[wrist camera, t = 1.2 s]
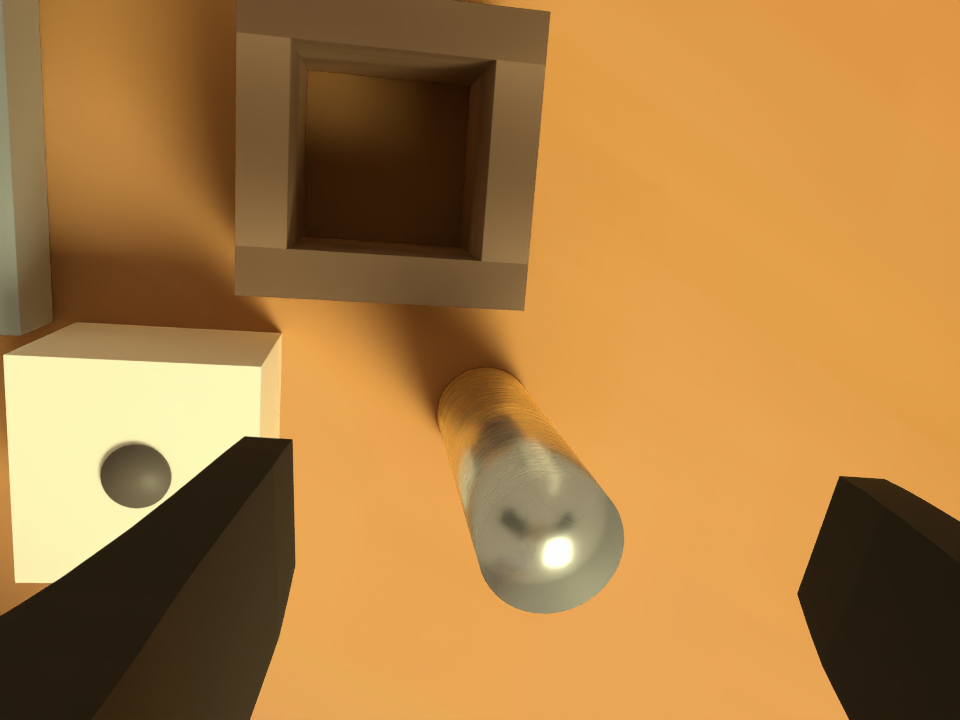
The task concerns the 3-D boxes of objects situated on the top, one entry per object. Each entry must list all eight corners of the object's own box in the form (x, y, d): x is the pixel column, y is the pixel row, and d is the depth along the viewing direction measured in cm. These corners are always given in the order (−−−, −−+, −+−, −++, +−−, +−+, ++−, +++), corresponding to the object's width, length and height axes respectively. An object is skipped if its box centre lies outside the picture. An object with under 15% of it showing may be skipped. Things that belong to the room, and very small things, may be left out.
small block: (277, 510, 21) (255, 585, 17) (84, 506, 20) (12, 585, 16) (282, 332, 20) (260, 368, 16) (78, 321, 19) (0, 355, 15)
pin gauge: (525, 458, 21) (614, 612, 14) (434, 456, 21) (472, 614, 13) (534, 369, 21) (632, 476, 13) (440, 365, 20) (483, 474, 13)
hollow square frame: (493, 287, 20) (524, 310, 16) (262, 273, 19) (235, 294, 15) (513, 48, 19) (550, 11, 15) (265, 21, 18) (236, -26, 14)
